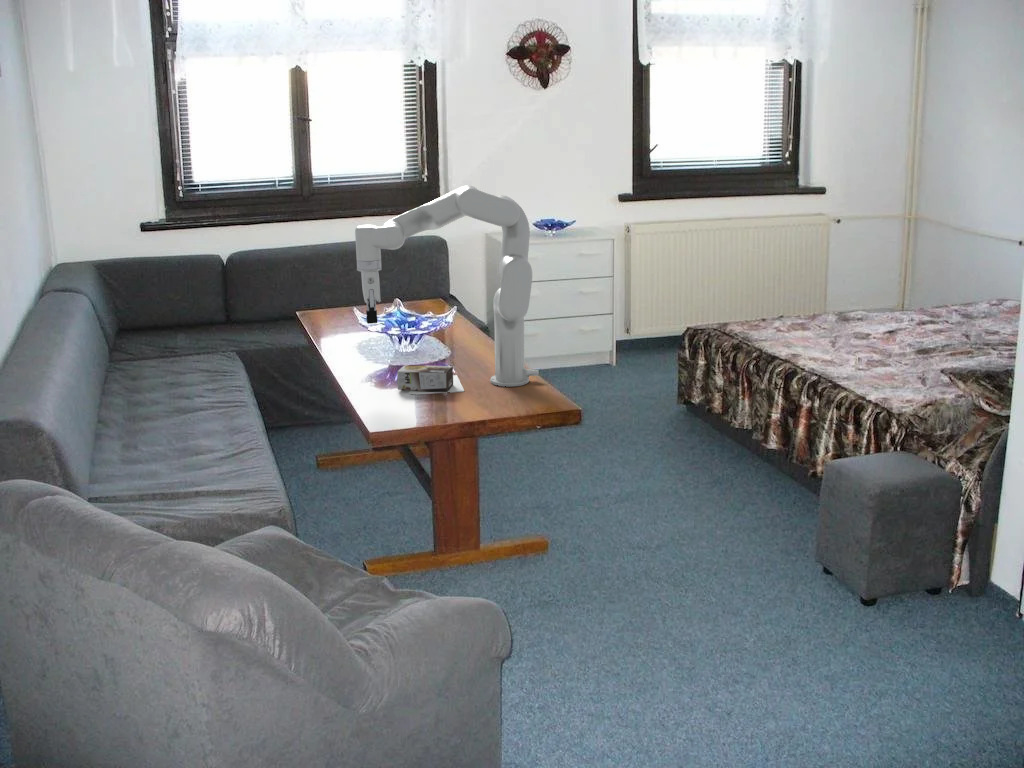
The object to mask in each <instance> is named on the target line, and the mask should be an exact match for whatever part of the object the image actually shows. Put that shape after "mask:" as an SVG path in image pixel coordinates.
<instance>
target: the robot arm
mask: <svg viewBox="0 0 1024 768" xmlns="http://www.w3.org/2000/svg"><path fill="white" fill-rule="evenodd" d="M464 217H470V218H472V219H475V220H478V221H481V222H485V223H488V224H491V225H494V226H498V227H501V229H502V242H501V251H500V259H499V265H498V272H499V275H500V277H501V282H500V287H499V288H498V289H497V290H496V291H495V293H494V296H493V300H492V304H493V305H492V306H493V309H492V310H493V317H494V319H493V320H494V322H493V323H494V375H492V376H491V377H490V379H489V381H490V383H491V384H492V385H495V386H497V385H498V387H505V386H506V387H512V388H513V387H520V386H521V387H522V386H524V385H527V384H528V383H529V382H530V376H531V377H539V374H540V370H539V369H534V368H528V369H527V368H526V367H525V316H526V315H527V313H528V311H529V307H530V300H531V294H532V293H531V292H532V286H533V268H532V266H531V264H530V262H529V250H530V249H529V248H530V237H531V235H530V233H531V232H530V224H529V223H530V222H529V220H528V217H527V215H526V213H525V211H524V210H523V208H522V207H521V206H520V204H519V203H517V201H515V200H514V199H512V198H511V197H510V196H507V195H504V194H503V195H502V194H501V195H493V194H490V193H487V192H484V191H481V190H479V189H478V188H476V187H475V186H473V185H470V184H469V185H463V186H460V187H457V188H456V189H454V190H452V191H450V192H448V193H445V194H444V195H442V196H440V197H438V198H435V199H434V200H432V201H431V200H430V202H427V203H424V204H423V205H420V206H418V207H415V208H413V209H410V210H408V211H406V212H404V213H401V214H399V215H398V216H395V217H393V218H392V219H389V220H387V221H386V222H385V223H383V224H382V225H381V226H378V225H375V224H362V225H361V224H360V225H358V226H356V227H355V230H354V236H355V252H356V254H355V255H356V256H355V257H356V271H358V272H360V275H361V286H362V287H361V288H362V294H363V299H364V303H366V310H365V311H366V313H365V314H366V324H370V325H371V324H378V309H377V302H378V303H380V302H382V301H381V288H380V286H381V284H380V275H379V273H380V272H379V271H382V254H381V251H382V250H381V249H383V250H398V249H400V248H401V247H402V246H403V245H404V244H405V241H406V239H409V238H411V237H412V236H415V235H417V234H419V233H421V232H425V231H431V230H432V231H434V230H438V229H441V228H444V227H446V226H447V225H449V224H451V223H453V222H456V221H457V220H459V219H462V218H464Z"/></svg>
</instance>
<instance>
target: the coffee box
mask: <svg viewBox="0 0 1024 768" xmlns="http://www.w3.org/2000/svg"><path fill="white" fill-rule="evenodd" d="M453 369H454V368H453V366H449V365H422V364H421V365H420V364H404V365H403V366H402V367H401V368H400V369H399V370H397V373H396V374H397V390H398V391H399V390H400V391H409V390H413V391H432V392H448V390H449V389H450V388H451V387H452V386H453V375H454V372H453Z"/></svg>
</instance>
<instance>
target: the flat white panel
mask: <svg viewBox="0 0 1024 768" xmlns="http://www.w3.org/2000/svg"><path fill="white" fill-rule="evenodd" d="M408 391H409V394H410V395H411V394H416V395H429V394H445V393H444V392H432V391H413V390H408ZM448 392H450V393H463V392H465V390H464V387H463V385H462V383H461V381H460V378H459V377H458V375H457V374H453V386H452V387H451V388H450V389H449V390H448Z"/></svg>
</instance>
